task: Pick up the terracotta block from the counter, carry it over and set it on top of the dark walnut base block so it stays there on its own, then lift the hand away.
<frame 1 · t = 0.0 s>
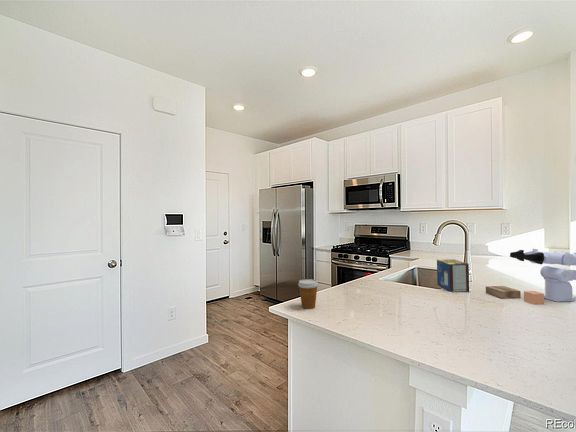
hand: (517, 255, 132), 22 cm above the counter, fingers open, 7 cm apart
protein box: (452, 288, 155), on the counter
terracotta block: (533, 302, 128), on the counter
disposable coffee cup: (308, 307, 127), on the counter
walnut base: (502, 296, 140), on the counter
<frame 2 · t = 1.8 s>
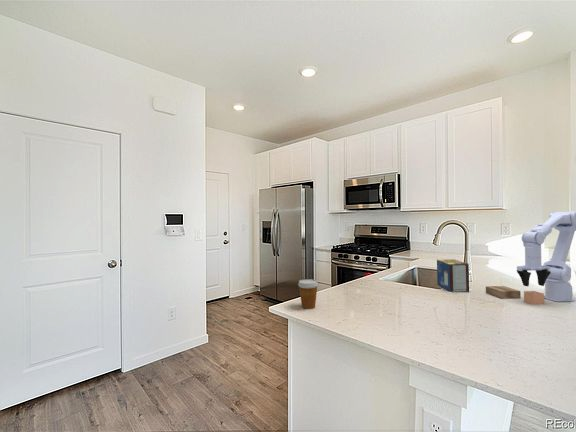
hand: (533, 285, 128), 8 cm above the counter, fingers open, 7 cm apart
nothing on the counter moved.
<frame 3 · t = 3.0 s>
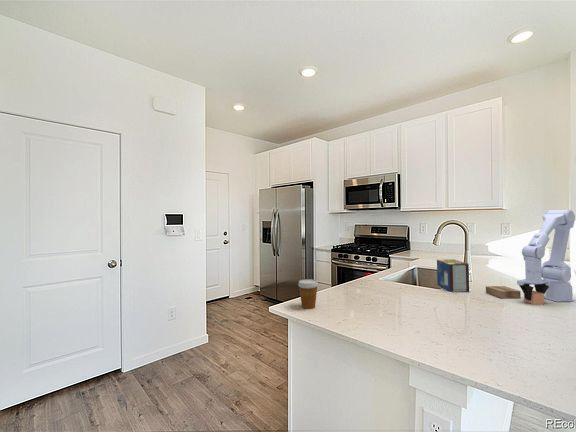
hand: (533, 299, 128), 1 cm above the counter, fingers closed on terracotta block, 5 cm apart
terracotta block: (533, 302, 128), on the counter, touching gripper
everything else where it was.
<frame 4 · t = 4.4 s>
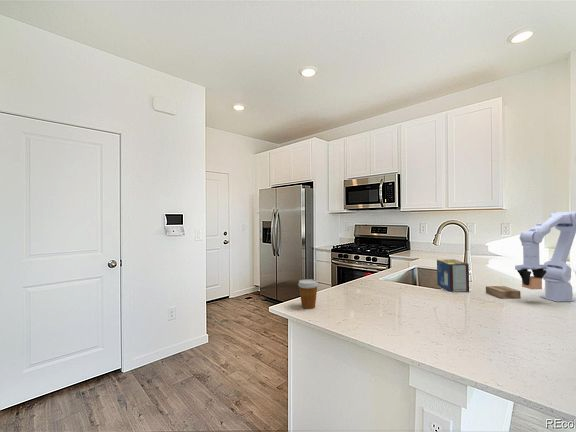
hand: (531, 284, 128), 8 cm above the counter, fingers closed on terracotta block, 5 cm apart
terracotta block: (531, 287, 128), point 7 cm above the counter, touching gripper
everything else where it was.
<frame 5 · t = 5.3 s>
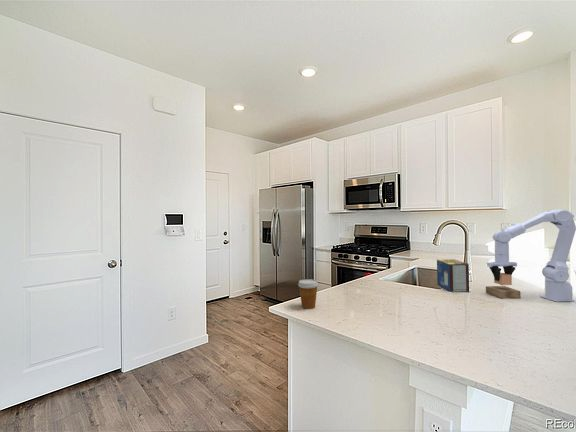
hand: (502, 280, 140), 8 cm above the counter, fingers closed on terracotta block, 5 cm apart
terracotta block: (502, 283, 139), point 6 cm above the counter, touching gripper
everything else where it was.
when the fingers open (7 cm above the counter, at t = 6.0 s): terracotta block drops 2 cm, resting on walnut base.
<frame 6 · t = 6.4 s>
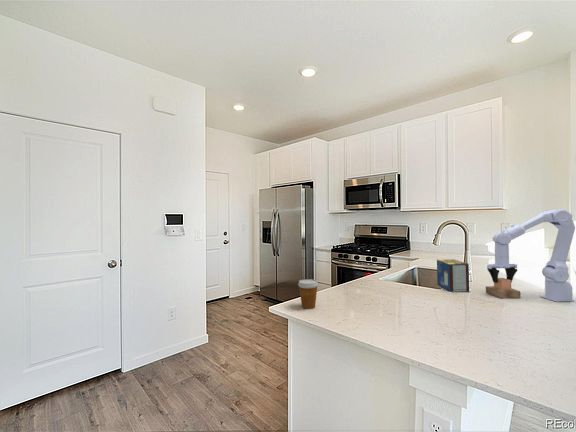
hand: (502, 282, 140), 7 cm above the counter, fingers open, 7 cm apart
terracotta block: (502, 288, 139), point 4 cm above the counter, touching walnut base
walnut base: (502, 296, 140), on the counter, touching terracotta block
everything else where it was.
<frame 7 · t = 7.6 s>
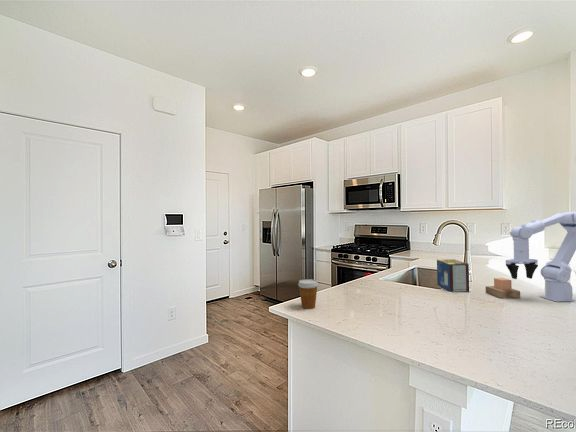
hand: (521, 278, 133), 10 cm above the counter, fingers open, 7 cm apart
nothing on the counter moved.
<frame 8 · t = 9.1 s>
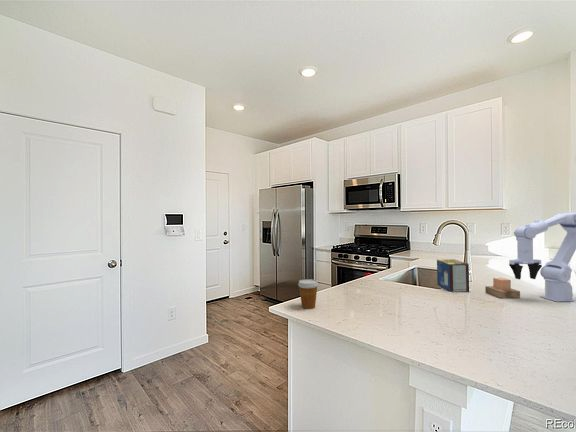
hand: (525, 278, 132), 10 cm above the counter, fingers open, 7 cm apart
nothing on the counter moved.
at the end: terracotta block 0.1 cm off-centre on the walnut base, point 4.0 cm above the walnut base's base; terracotta block tilted 0°; the gripper is holding nothing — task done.
